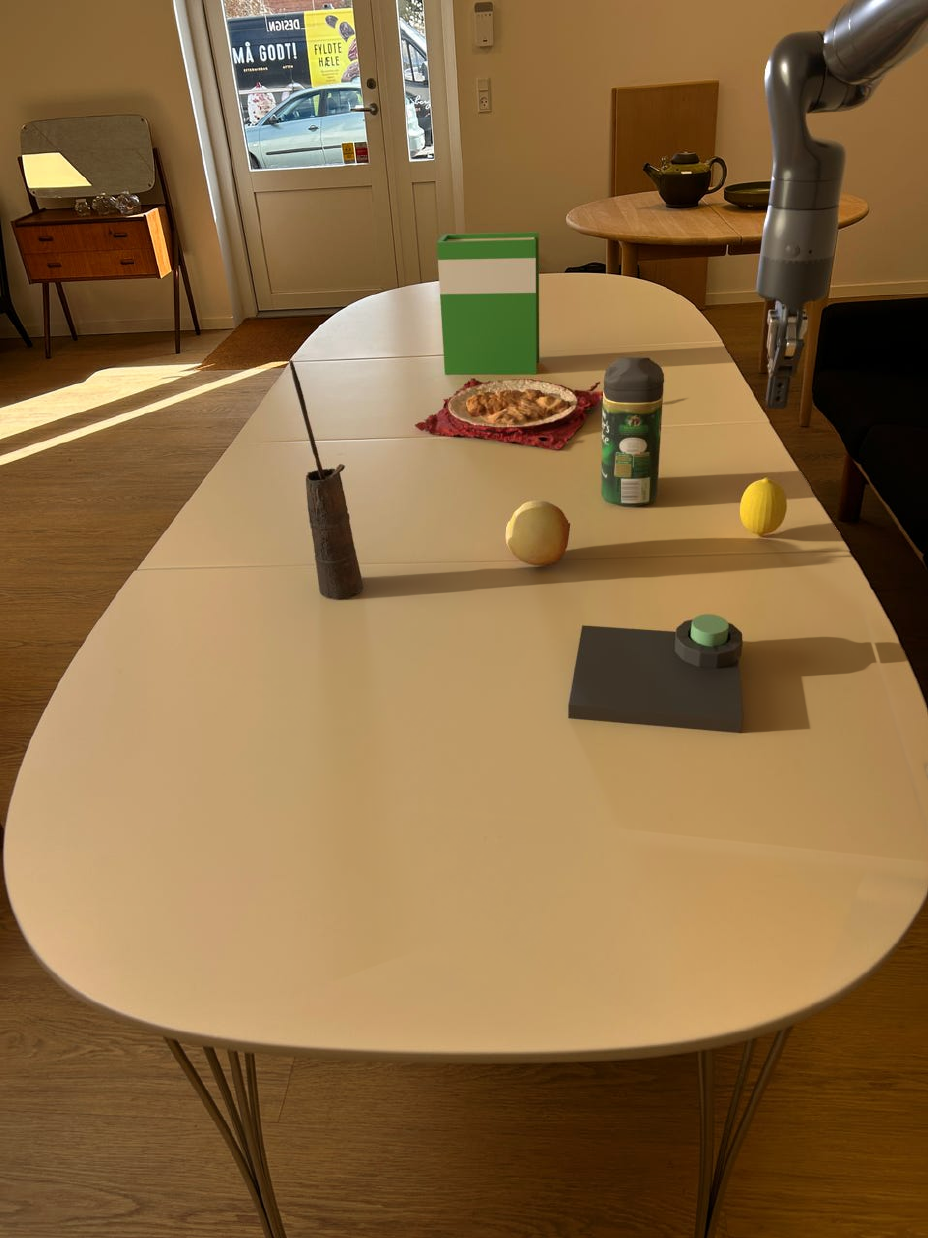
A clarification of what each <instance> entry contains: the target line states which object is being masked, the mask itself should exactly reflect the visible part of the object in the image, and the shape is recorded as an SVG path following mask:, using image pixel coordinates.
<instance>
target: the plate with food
mask: <svg viewBox="0 0 928 1238" xmlns="http://www.w3.org/2000/svg"><path fill="white" fill-rule="evenodd" d="M599 385H601V381H598V382H595V383H594V385H592V386H590V388H589V389H587V390H580V389H579V390H578V389H575V390H573V388H570V387H567V386H565V385H563V384H556V383H552V382H548V381H543V380H540V379H538V380H535V379H531V378H530V379H528V378H527V379H525V378H524V379H521V378H520V379H516V378H515V379H506V380H502V379H501V380H494V381H491V380H489V381H487V382H483V381H479V380H476V378H475V377H471V378H470V380H467V382H466V383H464V385H463V386H462V387H461V388H460V389H458V390H456V391H455V393H453V395H452V396H450V397H448V398H443V402H444V403H443V405H442V408H441V409H440V410H439V411H438V412H437V413H434V414H433V413H432V414H429V415H428V417H427V418H426V419H425V418H424V419H423V421H420V422H417V423H416V424H415V423H414V427H415V428H417V429H418V430H420V432H423V431H424V430H425V432H426V433H427V432H428V435H439V436H444V437H452V438H453V437H454V436H461V437H466V438H480V439H484V440H488V441H489V440H490V441H491V440H493V441H496V442H500V443H505V444H506V443H517V444H519V445H520V446H525V445H526V446H532V447H534V446H536V447H538V448H543V449H545V450H548V449H549V450H553V451H556V450H561V449H562V447H563V446H564V445H566V443H567V440H570V439H571V438H572V437H573V435H574V434H575V433H576V432H577V430H578V429H579V428H580V427H581V426H582V425H583V424H584V422H585V420H586V417H587V414H586V413H584V412H583V411H589V410H590V409H595V408H596V407H597V406H598V405H599V404H600V402H601V398H603V390H602V391H595V390H596V389H597V388H598V386H599ZM590 392H592V393H590ZM539 438H546V440H541V439H539Z"/></svg>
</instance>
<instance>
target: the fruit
mask: <svg viewBox="0 0 928 1238" xmlns="http://www.w3.org/2000/svg"><path fill="white" fill-rule="evenodd" d="M570 530H571V522H569V519H567V517H566V515H565V513H564V511H563V510H562V509H561V508H560V507H558V506H557V505H556V504H553V503H551V502H550V501H544V500H530V501H526V502H524V503H523V504H521V506H520V507H518V508H517V509H516V510H515V511H514V513H513V514H512V517H511V518H510V519H509V520H508V522H507V525H506V529H505V543H506V545H507V547H508V549H509V550H510V552H511V553H512V555H514V557H515V558H516V559H518V560H519V561H521V562H523V563H526V564H528V565H532V566H546V565H548V566H549V565H551V564H552V565H553V564H554V565H555V564H556V562H557V561H558V562H559V561H560V559H561V558H562V557H563V556H564V555H565V553H566V550H567V548H568V545H569V540H570V539H569V538H570Z"/></svg>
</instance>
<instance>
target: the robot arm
mask: <svg viewBox="0 0 928 1238" xmlns="http://www.w3.org/2000/svg"><path fill="white" fill-rule="evenodd" d="M927 46H928V0H848V1H847V2H845V3H844V4H843V5H842V6H841V7H840V8H839V9H838V10H837V11H836V13H835V14H834V15H833V16H832V18H831V19H830V21H829V22H828V25H827V27H826V29H820V30H803V31H802V30H801V31H794V32H789V33H788V34H786V35H784V36H783V37H781V38H780V40H778V41H777V43H776V44H775V46H774V47H773V48H772V50H771V52H770V54H769V57H768V60H767V63H766V66H765V71H764V89H765V90H764V91H765V99H766V105H767V113H768V117H769V118H768V119H769V125H770V134H771V135H770V137H771V147H772V173H771V180H770V181H771V182H770V188H769V189H770V190H769V197H768V206H767V212H766V216H765V220H764V224H763V230H762V235H761V236H762V237H761V244H760V253H759V254H760V255H759V262H758V270H757V278H756V287H755V293H756V294H757V295H758V297H760V298H761V299H764V300H767V301H770V302H775V305H774V309H769V310H768V313H767V325H768V332H767V340H766V349H767V355H766V359H767V362H768V364H767V369H768V370H767V371H768V380H767V388H766V395H765V403H766V407H767V408H768V409H770V410H784V409H785V408H787V407H788V399H789V398H788V397H789V393H790V392H789V391H790V386H791V378H795V377H796V375H797V370H798V368H799V364H800V360H801V357H802V353H803V349H804V348H805V342H804V341H805V340H804V336H805V334H806V333H807V331H808V325H809V316H808V315H807V310H806V309H804V305H805V304H806V303H809V302H817V301H819V300H822V299H823V298H825V297H826V296H827V295H828V294H829V293H828V292H829V287H830V281H831V275H832V269H833V262H834V256H835V251H836V250H835V249H836V243H837V237H838V229H839V210H840V209H839V208H840V203H841V197H842V190H843V189H842V188H843V183H844V177H845V176H844V175H845V169H846V162H847V150H846V148H845V146H844V145H843V144H842V143H841V142H839V141H836V140H833V139H828V138H821V137H816V136H813V135H812V134H811V132H810V129H809V127H808V126H809V125H808V121H807V115H808V114H823V113H836V112H837V113H838V112H839V113H841V112H847V111H851V110H854V109H856V108H858V107H861V106H863V105H865V104H866V103H868V101H870V100H871V99H872V98H873V96H874V95H875V93H876V92H877V90H878V88H879V87H880V86H881V84H882V83H883V82H884V80H885V79H886V77H887V76H888V74H889V73H890V72H892V71H894V70H895V69H897V68H898V67H900V66H901V65H903V64H904V63H906V62H908V61H909V60H910V59H912V58H913V57H915V56H916V55H917V54H918V53H920V52H921V51H922V50H923V49H924V48H926V47H927Z"/></svg>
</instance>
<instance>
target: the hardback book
mask: <svg viewBox="0 0 928 1238" xmlns="http://www.w3.org/2000/svg"><path fill="white" fill-rule="evenodd" d="M436 253H437V267H438V269H437V270H438V285H439V301H440V316H441V332H442V349H443V352H442V353H443V365H444V367H443V369H444V375H537V374H538V367H537V366H538V364H540V232H539V231H530V232H529V231H528V232H527V231H526V232H489V233H488V232H487V233H452V234H451V233H446V234H445V233H444V234H442V236H440V238H439V239H438V240H437V242H436Z"/></svg>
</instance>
